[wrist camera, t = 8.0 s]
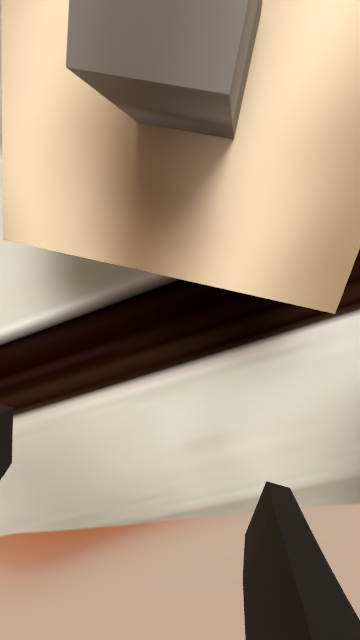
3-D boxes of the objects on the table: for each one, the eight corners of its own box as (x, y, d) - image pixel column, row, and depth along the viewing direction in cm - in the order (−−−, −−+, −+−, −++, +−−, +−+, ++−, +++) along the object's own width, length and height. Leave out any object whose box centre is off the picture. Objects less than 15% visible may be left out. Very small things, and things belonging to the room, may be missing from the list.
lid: (509, -187, 8) (1013, -914, 3) (328, 306, 12) (392, 381, 7) (19, -226, 9) (-271, -786, 4) (16, 237, 13) (-121, 259, 8)
